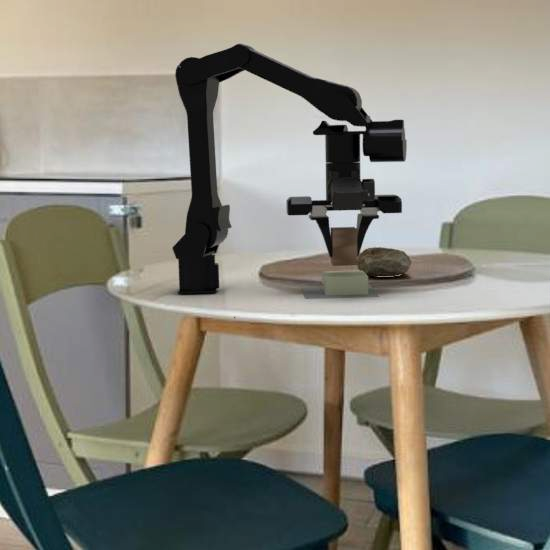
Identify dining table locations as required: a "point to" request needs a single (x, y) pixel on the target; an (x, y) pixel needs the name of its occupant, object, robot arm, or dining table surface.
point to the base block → (345, 282)
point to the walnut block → (344, 246)
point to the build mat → (319, 293)
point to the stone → (383, 262)
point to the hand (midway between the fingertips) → (343, 256)
